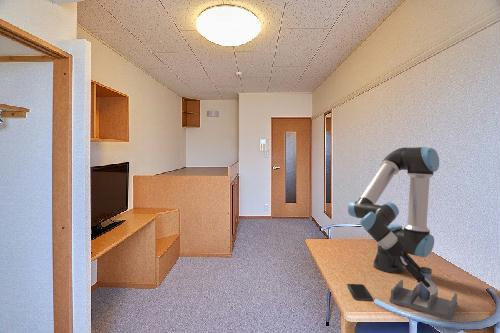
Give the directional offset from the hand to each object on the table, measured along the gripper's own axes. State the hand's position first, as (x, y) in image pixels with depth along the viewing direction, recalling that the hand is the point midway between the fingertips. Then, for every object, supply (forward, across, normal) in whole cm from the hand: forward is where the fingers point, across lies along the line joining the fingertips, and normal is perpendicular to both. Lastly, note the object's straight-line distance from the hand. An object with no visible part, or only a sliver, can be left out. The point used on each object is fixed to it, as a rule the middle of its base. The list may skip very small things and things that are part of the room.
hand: (434, 290), depth 129 cm
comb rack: (+2, 0, -7) cm, 7 cm away
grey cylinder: (0, 0, -5) cm, 5 cm away
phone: (-15, +1, -25) cm, 29 cm away
